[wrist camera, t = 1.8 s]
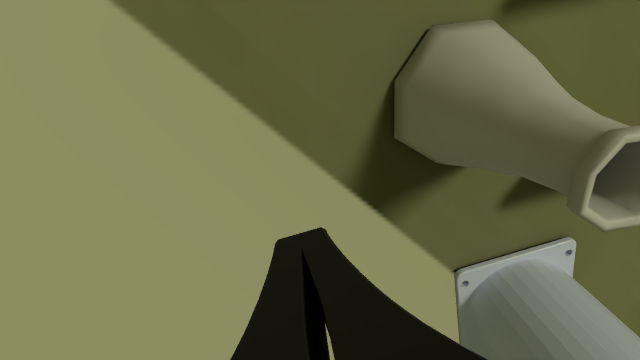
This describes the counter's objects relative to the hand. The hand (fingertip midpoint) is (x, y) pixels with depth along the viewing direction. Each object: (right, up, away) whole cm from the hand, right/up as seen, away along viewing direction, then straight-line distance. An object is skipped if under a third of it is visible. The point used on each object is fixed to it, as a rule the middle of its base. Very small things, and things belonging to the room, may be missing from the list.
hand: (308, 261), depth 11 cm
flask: (+7, +7, +9) cm, 13 cm away
